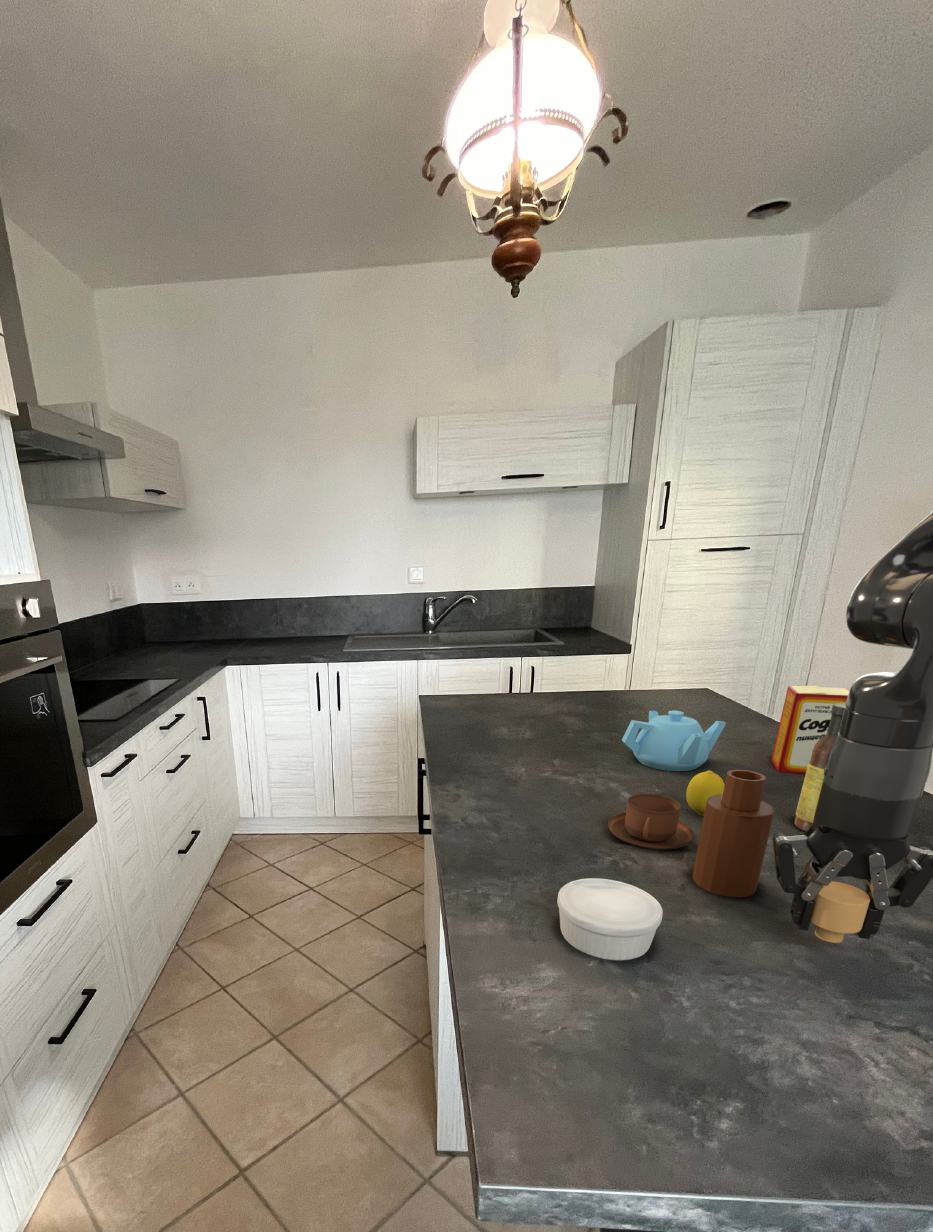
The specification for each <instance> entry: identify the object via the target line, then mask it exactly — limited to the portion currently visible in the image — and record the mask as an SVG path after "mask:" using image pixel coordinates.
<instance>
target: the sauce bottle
mask: <svg viewBox="0 0 933 1232" xmlns="http://www.w3.org/2000/svg"><path fill="white" fill-rule="evenodd" d="M845 705H846V703H836V704H834V705H833V706H832V711H831V714H832V716H831V720H830V724H829V727H828V729H827V734H826V735H825V736H824V737H823V738H822V739H820V740H819V741H818V742H817V743H816V744H815V746H814V748H813V751H812V756H811V760H810V761H809V764H808V767H807V771H806V774H804V775H805V776H804V779H803V783H802V787H801V791H800V795H799V799H798V803H797V807H796V811H795V818H794V825H795V826H796V828H798V829H799V830H801V831H803V832H806V831H807V830H808V829H809V828H810V827H811V826H812V824H813V820H814V815H815V811H816V807H817V803H818V799H819V795H820V791H821V787H822V783H823V779H824V769H825V766H826V765H827V763H828V759H829V756H830V753H831V750H832V748H833V745H834V743H835V741H836V739H837V736H838V733H839V728H840V724H841V720H842V716H843V712H844V708H845Z"/></svg>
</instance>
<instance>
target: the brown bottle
mask: <svg viewBox="0 0 933 1232" xmlns="http://www.w3.org/2000/svg"><path fill="white" fill-rule="evenodd" d="M766 781H767V777H766V776H765V775H764V774H762V773H760V772H757V771H754V770H753V771H752V770H748V769H733V770H731V769H730V770H728V771H727V773H726V776H725V782H724V784H725V786H724V791H723V795H715V796H711V797H709V799H708V800H707V803H706V808H705V813H704V815H703V818H702V824H701V829H700V835H699V840H698V845H697V850H696V855H695V860H694V865H693V871H692V880H693V882H694V884H696V885H697V886H698V887H700V888H701V889H704V890H705V891H708V892H709V893H712V894H715V895H718V896H723V897H730V898H731V897H732V898H746V897H750V896H752V895H755V893H756V892H757V889H758V885H759V879H760V874H761V871H762V867H763V862H764V858H765V854H766V850H767V846H768V841H769V837H770V834H771V829H772V824H773V820H774V817H775V812H776V810H775V808H774V807H773V805H771V804H770V803H767V802H766V801H764V800H762V798H763V795H764V790H765V787H766Z"/></svg>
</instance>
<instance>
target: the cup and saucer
mask: <svg viewBox="0 0 933 1232" xmlns="http://www.w3.org/2000/svg"><path fill="white" fill-rule="evenodd" d="M626 802H627V804H626V810H625V811H626V812H623V813H618V814H615V815H613V816H612V817H610V818H609V820H608V822H607V826H608V829H609V831H610V832H611V833H612V834H613V835H614V836H615V837H616V838H617V839H619V840H620V841H623V842H624V843H627V844H629V845H631V846H635V847H638V848H643V849H649V850H656V851H657V850H659V851H660V850H661V851H669V850H675V849H679V848H683V847H685V846H687V845H689V844H690V843H691V842H692V841H693V839H694V837H695V832H694V830H693V829H692V828H691V826H689V825H687V824H686V823H684V822H682V821H681V820H679V819H680V814H681V809H682V805H681V803H680V802H679V801H677V800H676V799H674V798H671V797H669V796H667V795H666V796H665V795H661V794H656V793H637V794H632V795H631V796H628V797H627V801H626Z"/></svg>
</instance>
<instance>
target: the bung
mask: <svg viewBox="0 0 933 1232" xmlns="http://www.w3.org/2000/svg"><path fill="white" fill-rule="evenodd" d="M814 901H815V906H814V910H813V913H812V917H811V921H810V923H812V924H814V926H815V931H814V935H815V936H816V937H817V938H818V939H820V940H822V941H824V942H828V943H832V944H839V943H842V942H843V940H844V936H845V934H846V935H847V934H849V935H851V934H857V932H859V931H860V930H861V929H862V926H863V922H864V919H865V916H866V913H867V909H868V906H869V903H870V897H869V895H868V894H867V893H866V892H865V890H862V889H861V888H859V887H857V886H853V885H851V884H848V883H845V882H839V881H834V880H832V881H831V883H830V884H829V885H828V886H824V887H823V888H822V890H821V891H820V892H819V893H818V895H817V896H816V897H815V898H814Z"/></svg>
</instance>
